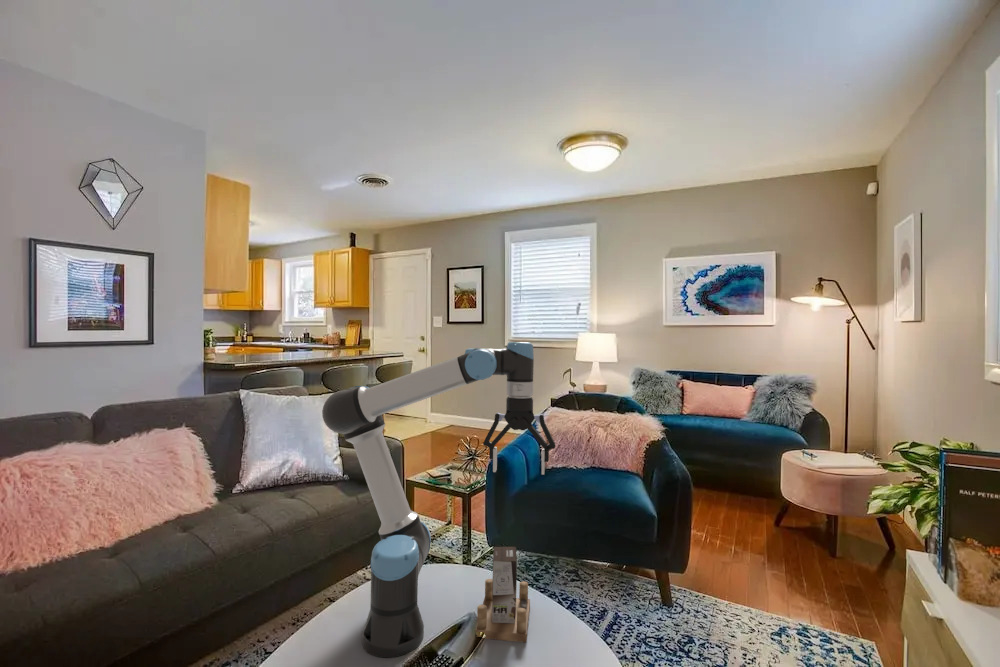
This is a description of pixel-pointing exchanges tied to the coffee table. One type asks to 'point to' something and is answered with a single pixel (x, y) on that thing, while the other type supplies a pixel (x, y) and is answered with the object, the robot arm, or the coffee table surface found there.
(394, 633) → the robot arm
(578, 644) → the coffee table surface
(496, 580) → the coffee box
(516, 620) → the wooden peg stand
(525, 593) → the rounded tan peg
